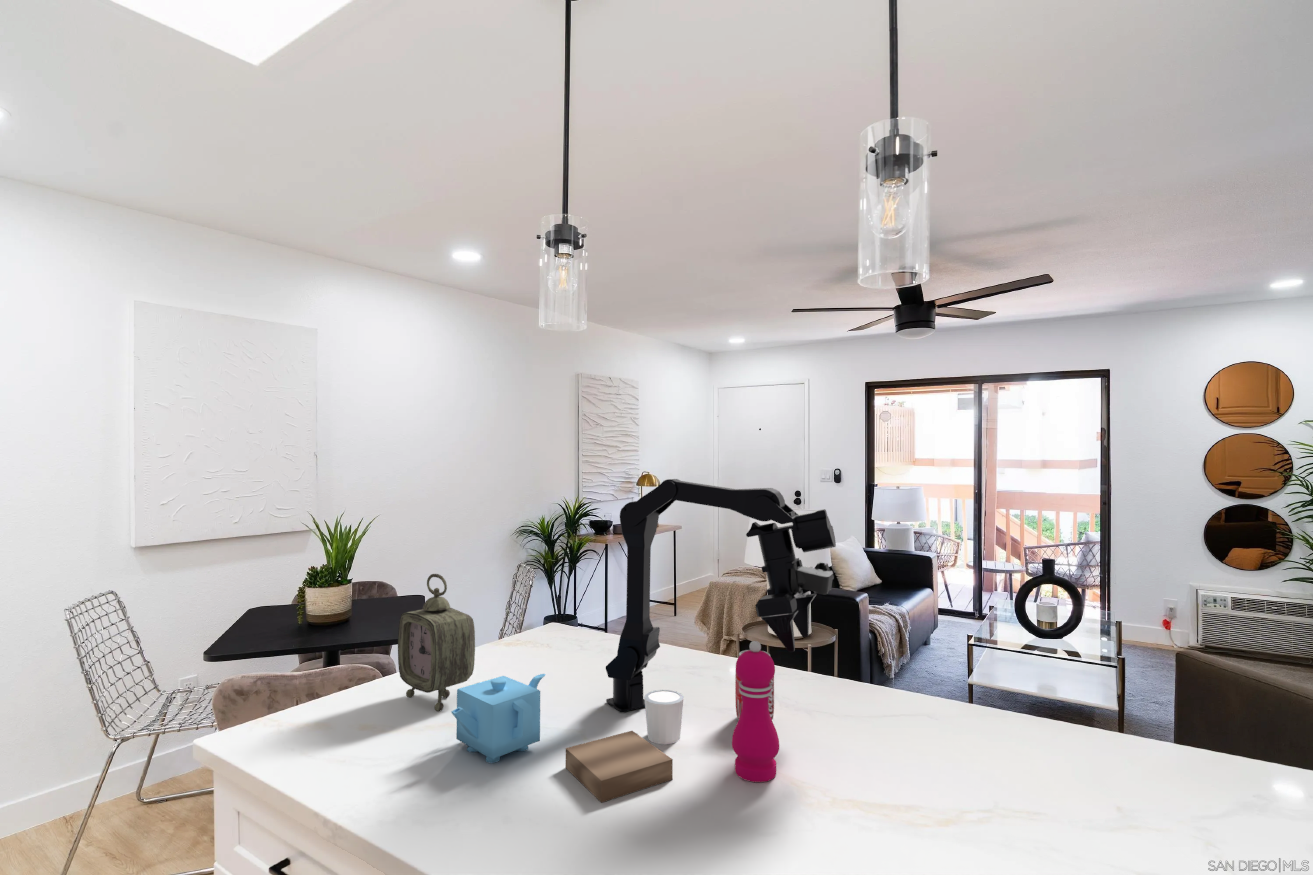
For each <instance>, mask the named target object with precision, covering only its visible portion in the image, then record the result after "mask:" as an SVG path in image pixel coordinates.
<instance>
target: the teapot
mask: <svg viewBox="0 0 1313 875" xmlns="http://www.w3.org/2000/svg"><path fill="white" fill-rule="evenodd" d="M545 676H546V673H540V674H536V675H535V676H533V677H532V679H531V680H530V682H529V684H526V683H523V682H521V681H518V680H516V679H513V678H510V677H509V676H506V675H501V676H498V677H494V678H491V679H488V680H483V681H481V682H476V683H474V684H471V685H466V686H463V687H460V688H457V689H456V708H455V709H453V710H451V711H450V712H451V714H452V715H453V717H454V718H455V719H456V733H455V735H456V736H455V737H456V740H457V741H459V742H461V743H463V744H465V745H466V746H468V747H467V749H466V750H467V751H468V752H470V753H471V752H472V753H474V752H475V753H476V752H478V753H479V754H482V755H484V756H485V762H487V763H490V764H493V763H497V762H499V761H500V760H501V757H502V756H505V755H508V754H509V753H512V752H515V751H517V752H524V751H528V750H529V746H531V745H533V744H535V743H538V742H540V741H541V690H540V689H538V686H539V683H540V681H541V680H542V679H544V677H545Z"/></svg>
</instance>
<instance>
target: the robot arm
mask: <svg viewBox="0 0 1313 875" xmlns="http://www.w3.org/2000/svg"><path fill="white" fill-rule="evenodd" d="M676 501H679V502H684V503H691V504H696V505H702V506H707V507H713V508H719V509H720V508H721V509H728V510H731V511H734V512H736V513H738V514H741V515H743V516H745V517H748V518H751V519H754V520H757V521H760V522H770V521H773V522H771V523H765V524H759V523H758V522H757V521H754V522H752V523H751V526H750V528H749V530H748V531H747V533H746V534H745V536H746V537H747V538H751V537H756V536H757V537H758V538H757V539H758V541H759V546H760V551H761V555H762V560H763V564H764V565H762V566H761V571H762V574H764V573H766V578H767V582H768V587H769V588H767V589H766V594H767V595H764V596H762V597H761V598H760V599H758V601H757V602H756V604H755V606H754V607H755V610H756V615H757V617H758V618H761V620H762V621H764V622H765V623H766V624H767V626H768V627H769V628H770V629H771V631H772V632H773V633H774V634H775V636H776V637H777V639H778V640H779V641H780V642H781V644H782V645H783V646H784V648H785V649H786V651H788V652H789V653H793V652H795V650H796V647H795V646H796V645H795V643H796V642H795V633H794V632H795V631H794V626H795V627H796V629H797V630H798V632H799V634H800V635H801V637H802V638H807V637H809V634H810V632H809V631H810V629H809V628H810V605H811V603H812V602H813V600H814V599H815V597H816V596H817V594H819V595H827V594H829V592H831V591H832V586H833V580H834V579H835V575H834V572H833V570H831V569H830V567H829V564H828V563H827V562H822V561H819V562H818V563H817V564H816V565H815V567H813V566H810V567H808V566H803V562H802V559H800V557H798V558H797V557H796V553H795V550H794V547H795V548H797V549H799V550H800V549H801V551H802V552H803V553H809V552H810V553H811V552H814V551H820V550H821V551H822V550H826V549H832V548H836V547H837V545H836V543H837V542H836V537H835V532H834V527H833V525H832V524H831V521H830V518H829V516H828V512H827V509H819V510H817V511H815V512H814V511H813V512H810V513H804V514H800V515H799V513H797V512H796V511H795V510H794V509H792V507H790V506H789V505H788V504H786V501H785V498H784V495H783V494H782V493H781V491H780V490H778V489H776V488H773V487H763V488H762V487H758V488H757V487H756V488H731V487H723V486H716V485H710V484H705V483H704V484H703V483H697V482H690V481H684V480H680V479H678V478H670V479H669V478H668V479H665V480H663V481H662V482H661V483H660V484H659V485H657V487H655V488H654V489H652V490H650V491H649V492H647V493H645V495H642V497H640V498H638V499H637V500H635V501H629V502H628V503H625V505H623V507H621V509H620V512H619V521H620V528H621V529H620V531H621V535H622V537H623V539H624V542H625V544H626V549H627V553H626V555H627V556H626V604H625V606H626V610H625V615H626V616H625V623H624V625H623V628H622V631H621V634H620V637H619V642H618V647H617V653H616V654H617V655H616V656H615V657H614V658H613V659H612V660H611V661H610V662H609V663H608V664H607V665H606V666H605V670H606V674H607V677H608V678H610V679H612V697H610V698H606V700H605V702H606V703H607V704H609V705H610V707H611V706H612V707H613V708H614V709H616V710H617V711H618V712H621V713H625V712H629V711H632V710H637V709H641V708H645V699H644V674H643V670H644V669H646V668H647V667H648V664H649V662H650V661H651V660H652V659H653V658H654V657H655V656H656V654H657V650H658V649H659V648H661V645H660V641H659V637H660V636H659V635H660V627H659V626H656V627H654V626H653V624H652V621H651V618H650V615H651V613H650V610H651V608H650V606H651V599H650V598H651V551H652V550H651V549H652V544H653V541H654V538H655V535H656V533H657V529H658V523H659V518H660V515H662V514H663V513H664V512H666V511H667V509H669V508H670V507H671V506H672V505H673V503H674V502H676ZM778 524H780V525H784V526H779V527H778ZM785 524H786V525H785ZM787 524H790V525H787ZM790 530H791V532H790ZM791 534H792V537H791ZM792 540H793V541H792ZM793 543H794V544H793ZM809 592H810V593H809Z"/></svg>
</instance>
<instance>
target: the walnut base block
mask: <svg viewBox="0 0 1313 875" xmlns="http://www.w3.org/2000/svg"><path fill="white" fill-rule="evenodd" d="M673 760H674V759H673V758H672V757H670V756H669V755H667V754H666V753H665V752H663V751H661V750H660V749H658V748H657V747H656V746H655V745H654V744H651V743H650V741H648V740H646V738H643V737H642V736H640V735H639V734H638V733H637V732H635V731H633V730H630V731H629V730H628V731H625V732H621V733H617V734H614V735H610V736H606V737H602V738H598V739H595V740H591V741H588V742H583V743H580V744H576V745H573V746H569V747H565V769H566V770H567V771H568V772H569V773H571V775H572V776H574V777H575V778H576V780H578V781H579V782H580V783H581V784H582V786H584V788H586V789H587V790H588V791H589V792H590V793H591V794H592V795H593V797H595V798H596V799H597V800H598V801H599V802H600V803H604V802H607V801H611V800H613V799H617V798H619V797H623V796H626V795H629V794H633V793H635V792H638V791H642V790H644V789H648V788H651V787H654V786H657V785H661V784H663V783H666V782H669V781H672V780H673V770H674V769H673Z"/></svg>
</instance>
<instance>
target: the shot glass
mask: <svg viewBox="0 0 1313 875" xmlns="http://www.w3.org/2000/svg"><path fill="white" fill-rule="evenodd" d="M684 698H685V696H684V695H683V694H682V693H681V692H680V691H679V692H678V691H676V690H670V689H657V690H651V691H648V692H647V693H645V695H644V696H643V699H645V707H644V708H645V720H646V722H645V723H646V732H647V733H646V734H647V739H648V740H649V742H652V743H654V744H658V745H671V744H674V743H677V742H678V741H680V739H681V733H682V732H681V731H682V720H683V708H684Z"/></svg>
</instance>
